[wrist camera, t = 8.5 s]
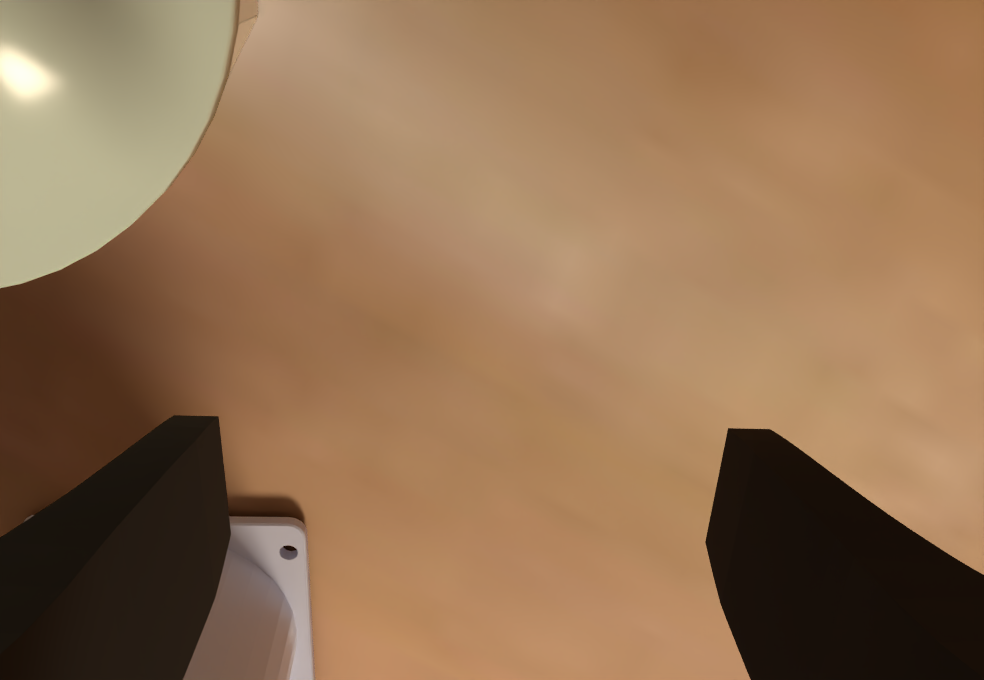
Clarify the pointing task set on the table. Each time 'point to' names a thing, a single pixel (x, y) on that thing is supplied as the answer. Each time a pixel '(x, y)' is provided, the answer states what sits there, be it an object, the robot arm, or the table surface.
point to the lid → (99, 117)
